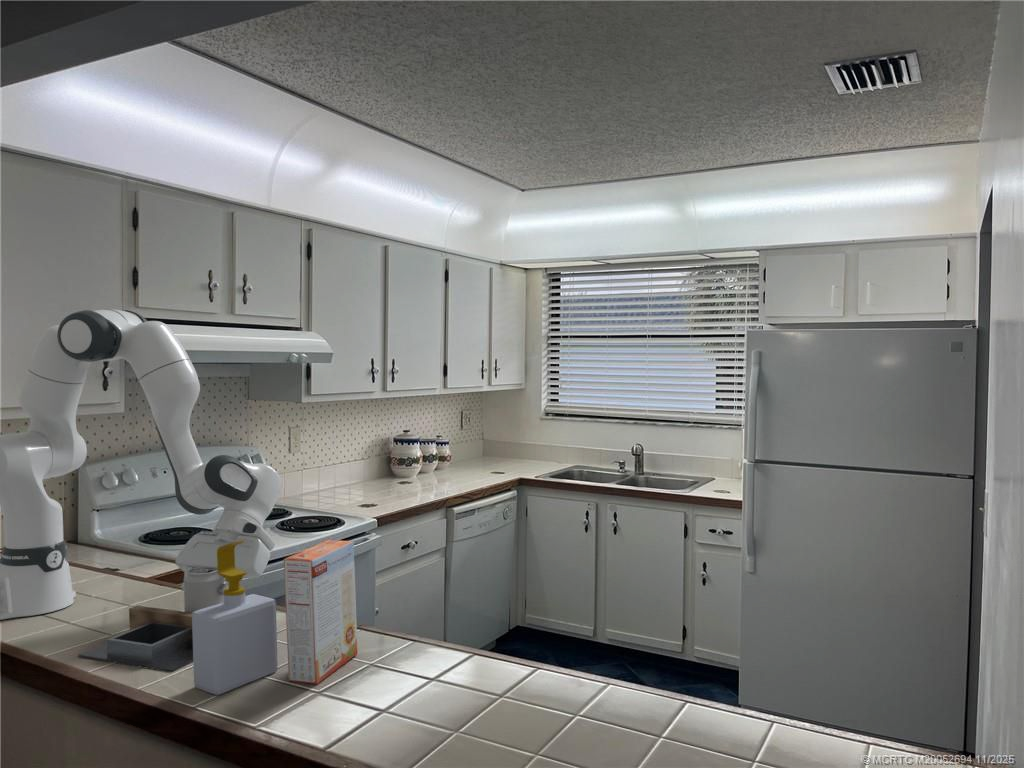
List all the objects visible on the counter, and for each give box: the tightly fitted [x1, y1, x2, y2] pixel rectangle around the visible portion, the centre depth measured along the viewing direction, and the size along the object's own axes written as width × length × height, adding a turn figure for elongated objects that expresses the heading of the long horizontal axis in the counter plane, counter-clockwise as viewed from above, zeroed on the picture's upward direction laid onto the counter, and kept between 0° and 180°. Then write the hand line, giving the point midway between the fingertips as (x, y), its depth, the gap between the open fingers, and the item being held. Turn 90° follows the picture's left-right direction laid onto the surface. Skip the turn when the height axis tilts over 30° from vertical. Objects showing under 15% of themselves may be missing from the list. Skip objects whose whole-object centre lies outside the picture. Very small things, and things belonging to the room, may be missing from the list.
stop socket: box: [78, 621, 193, 673], centre depth 145 cm, size 22×12×3 cm, turn 69°
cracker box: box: [283, 539, 358, 685], centre depth 136 cm, size 14×6×21 cm, turn 162°
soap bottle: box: [192, 541, 278, 696], centre depth 132 cm, size 12×7×23 cm, turn 145°
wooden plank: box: [128, 605, 192, 631], centre depth 152 cm, size 24×2×5 cm, turn 69°
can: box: [183, 566, 225, 613], centre depth 158 cm, size 8×8×12 cm
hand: (203, 592), depth 158 cm, fingers open, 8 cm apart
